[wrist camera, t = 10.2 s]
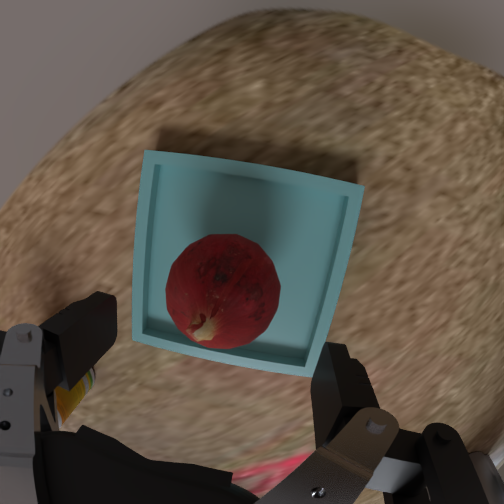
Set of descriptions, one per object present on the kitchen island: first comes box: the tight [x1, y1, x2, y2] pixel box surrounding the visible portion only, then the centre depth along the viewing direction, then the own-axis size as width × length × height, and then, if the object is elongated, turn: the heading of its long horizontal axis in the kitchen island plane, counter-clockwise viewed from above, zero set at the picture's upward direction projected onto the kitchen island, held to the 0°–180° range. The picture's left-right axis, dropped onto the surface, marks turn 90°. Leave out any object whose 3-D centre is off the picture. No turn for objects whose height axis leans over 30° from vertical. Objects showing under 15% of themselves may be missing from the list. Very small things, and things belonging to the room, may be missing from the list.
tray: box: [132, 150, 365, 377], centre depth 19 cm, size 13×13×2 cm
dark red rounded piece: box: [165, 234, 281, 349], centre depth 15 cm, size 6×6×8 cm
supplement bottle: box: [55, 368, 95, 428], centre depth 19 cm, size 5×5×10 cm
